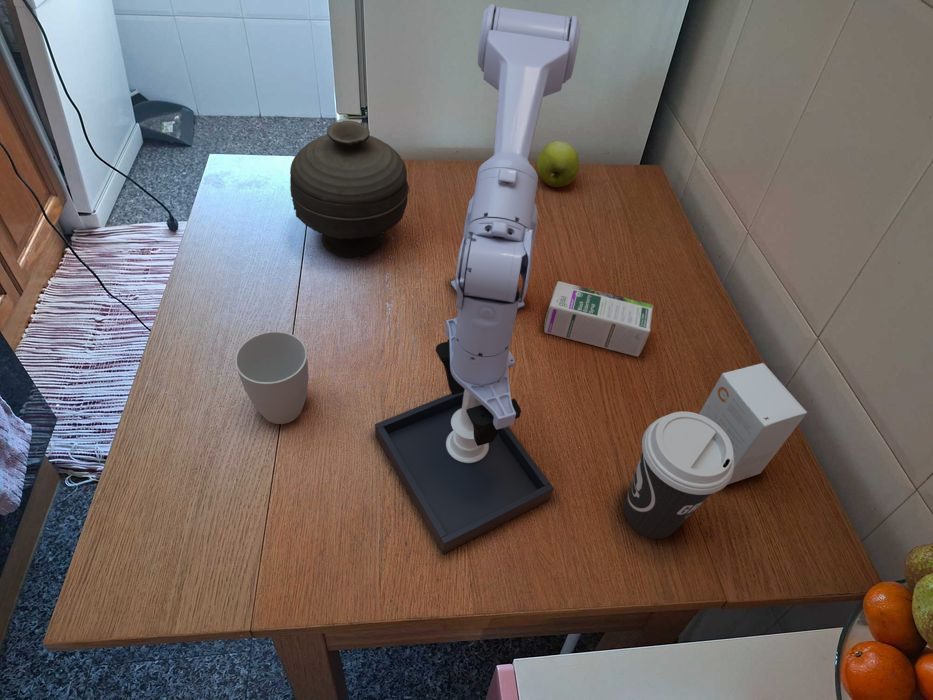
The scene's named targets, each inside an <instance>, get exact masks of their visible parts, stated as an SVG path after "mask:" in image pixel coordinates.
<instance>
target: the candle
mask: <svg viewBox="0 0 933 700" xmlns="http://www.w3.org/2000/svg"><path fill="white" fill-rule="evenodd" d="M480 405H482V404H481V403H480V402H479V401H478V400H476V399H475V398H474V397H473V396H472V395H471V394H470V393H469V392H468V391H467V390H464V396H463V404H462V408H461V409H459V410H457V411H456V412H455V413H454V414H453V416H452V419H451V426H452V428H453V431H452V432H451V433H450V434H449V435H448V437H447V440H446V448H447V451H448V452H449V454H450V455H451V456H452V457H453V458H454V459H456V460H458V461H460V462H463V463H474V462H477V461H479V460H481V459H482V458H484V457H485V455H486V454H487V452H488V449H489V443H487V444H483V445H480V446H477V444H476V442H475V440H474V428H473V424H472V422H471V420H470V418H469V416H468V414H467V412H466V410H467V409H469V408H473V407H476V406H480Z"/></svg>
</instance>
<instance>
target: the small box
mask: <svg viewBox="0 0 933 700" xmlns="http://www.w3.org/2000/svg"><path fill="white" fill-rule="evenodd" d="M698 414H700V415H702V416H705V417H707V418H709V419H710V420H712V421H713V422H715V423H716V424H717V425H719V426H720V427H721V428H722V429H723V430H724V432H725V433H726V434H727V436H728V437H729V439H730V441H731V444H732V447H733V454H734V471H733V475H732V478H731V480H730V481H729V483H728V484H727V485H731V484H733V483H736V482H739V481H740V482H741V481H743V480H746V479H748V478H751V477H754V476H757V475H760V474H761V473H762V472H763V471H764V470H765V468H766V467H767V466H768V464H769V463H770V462H771V460H772V459H773V458H774V457H775V455H776V454H777V453H778V452H779V451H780V449H781V448H782V447H783V445H784V444H785V442H786V441H787V440H788V439H789V437H790V436H791V435H792V433H793V432H794V431H795V429H796V428H797V427H798V425H799V424H800V423H801V422H802V420H803V419H804V418H805V416H806V415H807V414H808V411H807V410H806V409H805V408H804V407H803V406H802V405H801V404H800V403H799V401H798V400H797V399H796V398H795V397H794V396H793V395H792V393H791V392H790V391H789V390H788V389H787V388H786V387H785V386H784V384H783V383H782V382H781V381H780V380H779V379H778V378H777V376H776V375H775V374H774V373H773V371H772V370H770V368H769V367H768V366H767V364H765V363H764V362H760V363H757V364H754V365H749V366H746V367H742V368H738V369H734V370H730V371H726V372H722V373H721V375H720V377H719V378H718V380H717V382H716V383H715V385H714V386H713V389H712V391H711V392H710V394H709V396H708V397H707V398H706V401H704V404H703V406H702V407H701V409H700V411H699V413H698ZM727 485H726V486H727Z"/></svg>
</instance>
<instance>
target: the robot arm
mask: <svg viewBox="0 0 933 700" xmlns="http://www.w3.org/2000/svg"><path fill="white" fill-rule="evenodd" d="M481 20H482V21H481V24H480V25H481V26H480V31H479V41H478V50H477V51H478V52H477V66H478V67H479V68H480V71H481V72H482V73H483V81H485V82H486V83H487V84H488V85H490V86H491V87H493V88H494V89H495V90H497V91H498V92H497V104H496V105H497V106H496V107H497V108H496V118H495V119H496V120H495V131H494V146H493V155H492V156H491V157H490V158H488V159H486V160H485V161H484V162H483V163H482V164H481V165H480V166H479V167H478V170H477V175H476V180H475V187H474V194H473V195H472V196H471V199H469V201H468V206H467V211H466V215H465V220H464V227H463V228H464V229H463V234H462V237H463V238H462V240H461V242H460V246H459V250H458V254H457V257H458V258H457V263H456V270H455V279H453V280H451V281H450V285H451V287H452V288H453V289H454V290H455V292H456V303H455V307H456V308H457V315H456V317H455V318H450V319H446V320H445V327H444V333H445V335H446V337H447V338H448V339H447V341H444V342H439V343H438V344H437V345H436V346H435V353H436V354H437V356H438V358H439V361H440V362H441V363H442V364H443V368H444V371H445V375H446V379H447V385H448V388H449V392H450V394H451V393H452V395H455V394H459V393H462V392H464V390H467V391H468V392H469V393H470V394H471V395H472V396H473V397H474V398H475V399H476V400H478V401H479V402H480V403H481V404H482V405H480V406H476V407H473V408H469V409H467V410H466V412H467V414H468V416H469V418H470V420H471V422H472V424H473V428H474V440H475V442H476V444H477V446H480V445H483V444H487V443H490V442H493V440H494V439H495V438H496V436H497V435H498V433H499V432H500V431H501V430H502V429H503V428H505V427H511V426H513V425H514V424H515V420H517V419H519V418H520V417H521V414H522V408H521V407H520V404H519V403H518V401H517V399H516V398H512V395H511V385H510V378H509V369H511V368H513V367H515V364H516V359H515V357H514V356H513V354H512V352H511V351H510V347H511V344H512V338H513V334H514V328H515V324H516V320H517V319H516V318H517V313H518V310H519V309H521V308H524V307H525V302H524V299H525V297H526V295H527V291H528V287H529V284H530V283H529V282H530V277H531V272H532V265H533V251H534V246H535V241H536V233H537V227H538V216H539V210H538V207H537V204H536V203H535V202H536V197H537V190H538V184H539V183H538V182H539V175H538V172H537V170H535V168H534V167H533V165H532V164H531V163H530V160H529V157H530V154H531V149H532V145H533V140H534V136H535V132H536V128H537V124H538V119H539V115H540V111H541V108H542V107H541V106H542V103H543V98H544V97H547V96H550V95H552V94H556V93H559V92H561V90H562V89H563V84H566V83H567V82H568V81H569V80H570V79H571V78H572V75H573V72H574V67H575V63H576V58H577V53H578V47H579V42H580V35H581V26H582V24H581V22H580V20H579V19H578V16H577V15H570V16H567V15H560V14H553V13H547V12H546V13H545V12H539V11H533V10H532V11H531V10H526V9H525V10H524V9H517V8H511V7H510V8H509V7H503V6H497V5H496V4H493V3H491V4H489V6H488V7H486V8H485V9H484V11H483V15H482V19H481ZM520 276H521V281H522V284H521V291H520V287H519V280H520Z"/></svg>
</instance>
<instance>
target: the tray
mask: <svg viewBox="0 0 933 700" xmlns="http://www.w3.org/2000/svg"><path fill="white" fill-rule="evenodd" d="M463 396H464V392H462V393H459V394H455V395H452V393H451V392H450V393H448V394H446V395H444V396H441V397H439V398H436V399H434V400H431V401H429V402H426V403H424V404H421V405H418V406H416V407H414V408H410V409H409V410H406V411H404V412H401V413H399V414H396V415H394V416H392V417H389V418H387V419H383V420H381V421H378V422H377V423H374V435H375V438H376V441H377V442H378V443H379V445H380V447H381V449H382V450H383V452H384V454H385V455H386V457H387V459H388V461H389V462H390V464H391V466H392V467H393V470H394V471H395V473H396V475H397V477H398V478H399V480H400V482H401V484H402V485H403V487H404V489H405V491H406V492H407V494H408V496H409V497H410V499H411V501H412V503H413V505H414V506H415V508H416V510H417V512H418V513H419V515H420V517H421V518H422V520H423V522H424V524H425V526H426V527H427V529H428V530H429V532H430V535H431V536H432V537H433V539H434V541H435V543H436V545H437V546H438V548H439V550H440V551H441V554H442V555H444V554H446V553H448V552H449V551H452V550H454V549H455V548H458V547H460V546H461V545H464V544H466V543H467V542H469V541H471V540H474V539H475V538H477V537H479V536H481V535H483V534H485V533H487V532H489V531H491V530H493V529H495V528H497V527H499V526H501V525H502V524H504V523H507V522H508V521H510V520H512V519H514V518H517V517H518V516H520V515H522V514H524V513H526V512H529V511H530V510H532V509H534V508H536V507H537V506H539V505H543V504H544V503H546V502H547V501H549V500H551V497H552V494H553V491H554V486H553V485H552V484H551V483H550V481H549V479H547V477H546V476H545V474H544V473H543V472H542V470H541V469H540V467H539V466H538V464H537V463H536V462H535V460H534V459H533V458H532V456H531V455H530V454H529V452H528V451H527V450H526V448H525V447H524V446H523V444H522V443H521V441H520V440H519V439H518V437H517V436H516V435H515V433H514V432H513V430H512V428H510V426H508V427H505V428H503V429H502V430H501V431H500V432H499V433H498V435H497V436H496V438H495V439H494V440H493V442H490V443H489V449H488V452H487V454H486V455H485V457H484V458H482V459H481V460H479V461H477V462H474V463H463V462H460V461H458V460H456V459H454V458H453V457H452V456H451V455H450V454H449V452H448V451H447V448H446V440H447V437H448V435H449V434H450V433H451V432H452V431H453V428H452V426H451V419H452V416H453V414H454V413H455V412H456V411H457V410H459V409H461V408H462V404H463Z"/></svg>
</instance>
